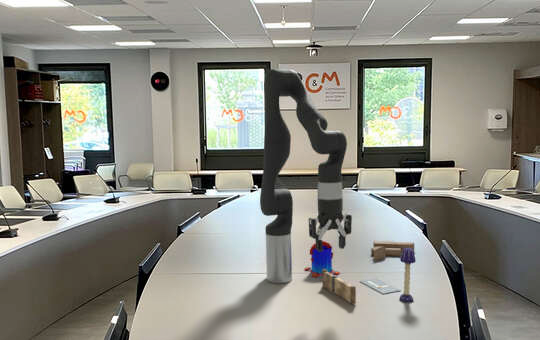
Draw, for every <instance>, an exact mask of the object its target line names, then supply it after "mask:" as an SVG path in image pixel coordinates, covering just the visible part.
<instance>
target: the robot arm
mask: <svg viewBox="0 0 540 340" xmlns="http://www.w3.org/2000/svg"><path fill="white" fill-rule="evenodd" d="M263 82H264V84H263V85H264V86H263V87H264V88H263V89H264V92H263V93H264V109H265V110H264V111H265V116H264V117H265V118H264V121H265V122H264V124H265V125H264V138H263V169H262V170H263V172H262V177H261V179H262V181H261V186H260V187H261V188H260V194H259V195H260V196H259V205H260V207H259V208H260V210H261V211H260V212H261V213H262V214H263V215H264V216H266V217H269V216H270V217H271V216H276V218H274V220H272V221H271V222H269V223H268V224H266V226H265V252H266V253H265V254H266V262H265V263H266V281H267V282H269V283H272V284H284V283H285V284H286V283H290V282H291V281H292V280H293V261H292V260H293V257H292V252H293V251H292V227H293V211H294V208H293V207H294V206H293V205H294V202H293V196H292V195H293V194H292V193H291V191H290V190H289V189H287V188H276V183H277V180H278V179H277V178H278V177H279V174H280V172H281V171H282V170H283V168H284V166H285V165H286V162H287V161H288V159H289V157H290V155H291V142H292V141H291V139H292V137H291V132H290V130H289V127H288V125H287V124H286V121H285V120H284V118H283V116H282V113H281V109H280V107H281V106H280V97H281V98H282V97H290V98H291V99H293V100H294V101H295V103H296V107H295V113H296V118H297V120H298V122H299V123H300V125H301V126H302V127H303V129H304V130H305V132H306V133H307V136H308V139H309V142H310V146H311V148H312V150H313V151H314V152H315V153H317V154H319V155H328V158H327V159H326V161H323V162H320V163H319V164H318V168H317V180H318V184H317V213H318V215H317V217H313V218H312V217H309V218H308V234H309V235H308V236H309V238H311V239H315V243H316V249H317V251H319V252H322V251H323V248H322V241H323V236H324V235H325V234H326V232H328V231H330V230H336V231H337V234H339V235H338V249H341V250H343V249H345V247H346V244H347V243H346V239H347V238H346V237H347V236H348V235H351V234H352V221H353V217H352V215H351V214H349V213H344V214H343V210H344V209H343V205H344V204H343V203H344V202H343V196H344V195H343V184H342V183H343V182H342V168H343V164H344V160H345V156H346V152H347V145H348V143H347V142H348V141H347V140H348V139H347V137H346V135H345V134H344V132H343V131H341V130H339V129H338V130H327V129H328V121H327V119H326V117H325V116H324V115H323V114H322V112H321V111H320V110H319V109H318V107H317V106H316V105H315V103H314V102H313V100H312V98H311V97H310V95H309V93H308V90H307V89H306V87H305V85H304V83H303V81H302V79H301V78H300V76H299V74H298V73H297V72H296V71H295V70H293V69H289V68H270V69H268V70H267V71H266V74H265V76H264V81H263ZM342 222H343V225H342ZM318 223H319V225H318ZM317 225H318V227H317Z"/></svg>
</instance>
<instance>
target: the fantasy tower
mask: <svg viewBox="0 0 540 340" xmlns="http://www.w3.org/2000/svg"><path fill="white" fill-rule="evenodd" d="M322 248H323V251H322V252H319V251H317V249H316V242H315V243H314V244H312V245H311V247H310V249H309V255H310V256H311V258H310V260H311V267H305V268H304V269H303V271H304V270H305V271H304V272H308V273H309V272H310V273H311V274H310V273H309V274H310V275H311V278H315V279H317V278H320V277H322V270H323V269H327V272H329V273H331V274H332V275H334V276H339V275H341V272H340V271H337V270H336V271H334V269H333V263H332V262H333V261H332V260H333V257H334V252H333V251H332V250H333V246H332V245H331V243H330V242H328V241H323V240H322ZM310 269H311V270H310Z"/></svg>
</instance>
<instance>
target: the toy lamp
mask: <svg viewBox="0 0 540 340" xmlns="http://www.w3.org/2000/svg"><path fill="white" fill-rule="evenodd" d="M400 262H401V263H404V281H403V289H404V290H403V293H402V294H401V295H400V296H399V301H401V302H404V303H412V302H414V297H413V296H412V295H411V294H410V284H411V282H410V280H411V277H410V276H411V264H414V263H416V256H415V250H414V251H413V249H412V248H404V249H403V252H402V253H401V256H400Z"/></svg>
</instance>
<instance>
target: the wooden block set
mask: <svg viewBox="0 0 540 340" xmlns="http://www.w3.org/2000/svg"><path fill="white" fill-rule="evenodd" d="M372 243H373V244H372V245H373V247H371V249H370V250H371V251H370V253H371V254H370V255H371V256H373V261H374V260H375V261H379V260H382V258H383V259H385V258H386V257H401V255H402V252H403V249H404V248H412V249H413V251H414V252H415V242H409V241H408V242H405V241H393V240H392V241H391V240H389V241H388V240H387V241H385V240H374V241H373V242H372ZM378 259H379V260H378Z"/></svg>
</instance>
